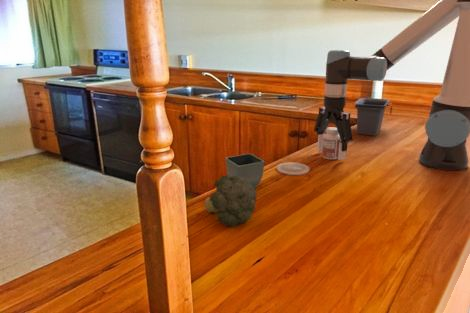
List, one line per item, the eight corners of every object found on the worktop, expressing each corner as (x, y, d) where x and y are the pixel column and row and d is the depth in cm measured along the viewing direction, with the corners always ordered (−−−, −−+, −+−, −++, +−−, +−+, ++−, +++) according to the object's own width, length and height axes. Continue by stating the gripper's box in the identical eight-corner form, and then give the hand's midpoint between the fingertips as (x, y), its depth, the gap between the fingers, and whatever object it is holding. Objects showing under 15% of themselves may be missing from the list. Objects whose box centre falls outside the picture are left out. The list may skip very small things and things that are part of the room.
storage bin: (358, 125, 188) (361, 96, 183) (391, 128, 181) (395, 98, 177) (350, 135, 170) (352, 103, 165) (386, 138, 163) (390, 106, 159)
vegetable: (230, 192, 103) (270, 181, 93) (222, 237, 98) (264, 231, 87) (196, 175, 97) (236, 161, 86) (185, 222, 91) (226, 213, 80)
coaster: (316, 171, 125) (316, 169, 124) (288, 177, 120) (288, 175, 120) (296, 162, 134) (296, 160, 134) (270, 167, 129) (270, 165, 129)
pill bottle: (332, 154, 143) (335, 125, 139) (342, 158, 137) (345, 129, 134) (318, 156, 141) (320, 127, 137) (328, 160, 135) (330, 131, 132)
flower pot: (238, 195, 107) (238, 166, 104) (225, 185, 114) (224, 157, 111) (264, 189, 110) (265, 161, 108) (250, 180, 118) (250, 153, 115)
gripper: (368, 99, 124) (361, 162, 130) (322, 90, 143) (318, 145, 150) (351, 101, 120) (345, 165, 127) (306, 92, 140) (303, 148, 147)
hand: (330, 154), depth 139 cm, fingers open, 11 cm apart
